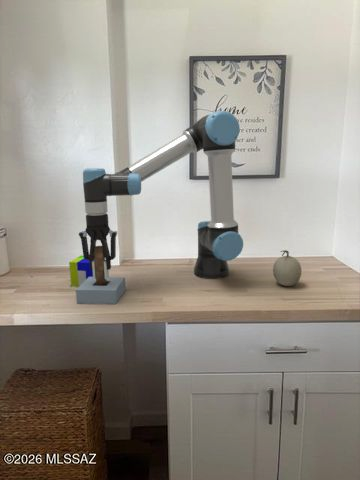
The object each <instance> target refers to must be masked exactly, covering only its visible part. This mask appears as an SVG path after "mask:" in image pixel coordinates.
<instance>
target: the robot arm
mask: <svg viewBox="0 0 360 480" xmlns="http://www.w3.org/2000/svg"><path fill="white" fill-rule="evenodd" d="M240 132H241V131H240V123H239V120H238V118H237V117H236V116H235V115H234V114H233V113H231V112H230V111H226V110H218V111H213V112H212V113H209V114H207V115H205V116H203V117H201V118H200V119H198V120H197V121H196V122H195V123H193V124H192V125H190V126H189V127H188V128H186V129H185V130H183V131H182V135H180V136H178V137H176V138H174V139H172V140H171V141H169V142H168V143H166V144H164V145H163V146H161V147H159V148H157V149H156V150H154V151H152V152H151V153H148V154H147V155H145V156H144V157H142V158H140V159H138V160H137V161H135V162H134V163H132V164H130V165H129V166H127V167H125V168H124V169H121V170H120V171H117V172H115V173H110V174H109V173H107V172H106V170H105V168H102V167H101V168H100V167H99V168H85V169H83V171H82V185H83V186H82V187H83V195H84V209H85V210H84V212H85V214H86V215H85V223H86V224H85V225H86V228H85V230H83V231H80V232H78V237H79V238H80V241H81V247H82V248H81V249H82V256H84V259H85V260H86V259H87V260H89V262H90V269H91V270H93V279H96V270H95V260H94V247H95V246H97V241H100V243H101V246H102V247H103V251H104V255H105V261H104V274H105V279H108V277H110V271H109V270H111V268H112V260H114V259H115V258H116V256H117V252H116V250H117V249H116V247H117V246H116V245H117V244H116V243H117V242H116V240H117V239H116V237H117V235H118V231H116V230H115V231H114V230H112V229H111V228H110V226H109V225H110V224H109V215H108V197H114V196H115V197H117V196H118V197H119V196H121V197H122V196H131V197H132V196H137V195H138V196H139V195H140V194H141V192H142V182H143V181H146V180H147V179H149V178H151V177H152V176H154V175H156V174H157V173H159V172H160V171H162V170H164V169H166V168H167V167H169V166H171V165H172V164H175V163H176V162H177V161H180V160H181V159H182V158H183V159H184V158H185V157H186V156H187V155H189V154H192V153H194V154H197V153H198V152H200V151H203V152H202V153H203V154H205V155H206V156H207V163H208V182H209V185H208V186H209V204H210V206H209V207H210V220H204V221H200V222H198V224H197V258H196V261H195V265H194V268H193V274H194V275H195V276H197V277H198V278H202V279H208V280H209V279H211V280H213V279H222V278H225V277H228V276H229V275H230V268H229V264H228V261H232V260H235V259H236V258H238V256H239V255H240V254H241V252H242V251H243V248H244V239H243V237H242V235H240V234H239V223H238V222H237V221H236V220H235V215H234V213H235V211H234V194H233V193H234V191H233V190H234V188H233V166H232V165H233V163H232V155H233V153H234V152H235V151H236V140H237V139H238V137H239V134H240ZM108 235H109V237H110V250H109V244H108V238H107V236H108ZM87 236H89V237H90V241H89V242H90V246H89V243H88V238H87Z"/></svg>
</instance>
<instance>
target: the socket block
mask: <svg viewBox="0 0 360 480" xmlns="http://www.w3.org/2000/svg"><path fill="white" fill-rule="evenodd" d="M106 281H107V286H97V284H96V279H93V277H88V278H87V279H86V280H85V281H84V282H83V283H82V284H81V285H80V286H77V288H76V289H75V297H76V298H75V299H76V304H88V305H89V304H90V305H91V304H92V305H93V304H94V305H98V304H99V305H117V304H118V302H119V301H120V299H121V298H122V295H124V293H125V291H126V277H125V276H124V277H123V276H109V277H108V279H106Z"/></svg>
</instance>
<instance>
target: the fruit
mask: <svg viewBox="0 0 360 480" xmlns="http://www.w3.org/2000/svg"><path fill="white" fill-rule="evenodd" d="M280 252H283V253H282V255H281V256H280V257H278V258H277V259H276V260H275V261H274V264H273V268H272V272H273V277H274V279H275V281H276V282H277V283H278V284H279V285H282V286H284V287H292V286H295V285H296V284H298V282H299V281H300V279H301V278H302V266H301V263H300V261H299V260H298V259H297V258H295V257H294V256H290V252H289V251H288V250H287V249H286V250H280ZM285 254H286V255H285Z"/></svg>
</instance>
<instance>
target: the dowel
mask: <svg viewBox="0 0 360 480" xmlns="http://www.w3.org/2000/svg"><path fill="white" fill-rule="evenodd" d="M94 257H95V270H96V284H97V286H107V281H106V279H105V274H104V261H105V260H106V259H105V255H104V251H103V247H102V245H96V246H95V247H94Z"/></svg>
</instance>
